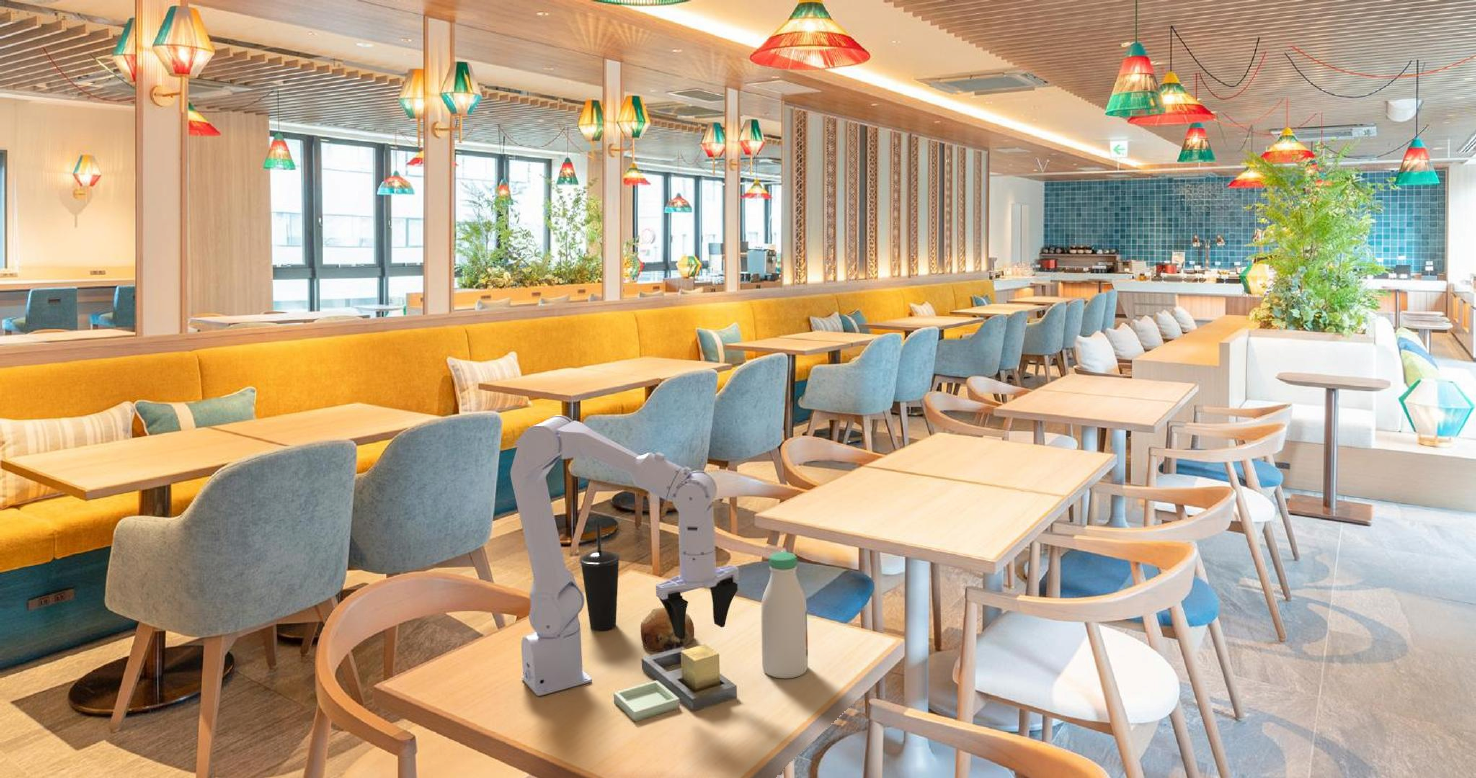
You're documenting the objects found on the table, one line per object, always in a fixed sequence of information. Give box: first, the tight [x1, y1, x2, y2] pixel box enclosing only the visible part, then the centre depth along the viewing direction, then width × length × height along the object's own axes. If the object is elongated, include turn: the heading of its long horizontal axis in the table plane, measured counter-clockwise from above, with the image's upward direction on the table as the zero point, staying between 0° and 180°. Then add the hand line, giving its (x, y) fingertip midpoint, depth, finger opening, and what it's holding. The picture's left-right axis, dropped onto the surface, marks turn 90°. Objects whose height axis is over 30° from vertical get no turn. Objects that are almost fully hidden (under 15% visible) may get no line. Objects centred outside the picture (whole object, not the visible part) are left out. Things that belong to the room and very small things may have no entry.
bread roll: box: [640, 606, 695, 652], centre depth 173 cm, size 10×10×8 cm
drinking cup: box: [578, 523, 621, 632], centre depth 179 cm, size 8×8×20 cm
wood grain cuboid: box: [680, 644, 721, 693], centre depth 152 cm, size 4×4×7 cm
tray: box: [613, 680, 681, 722], centre depth 149 cm, size 8×8×2 cm
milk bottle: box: [760, 551, 809, 679], centre depth 159 cm, size 8×8×20 cm
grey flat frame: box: [641, 647, 738, 712], centre depth 156 cm, size 8×18×2 cm, turn 31°
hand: (699, 630), depth 152 cm, fingers open, 7 cm apart
